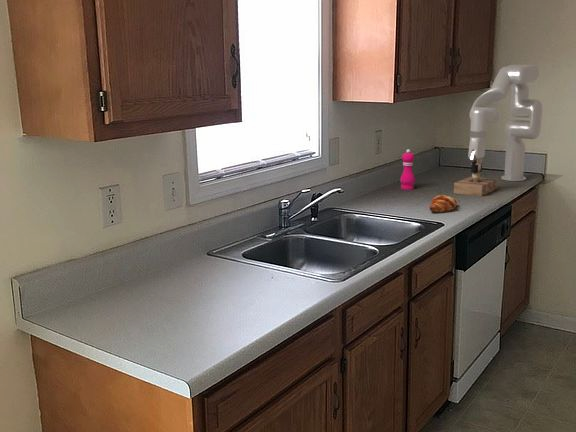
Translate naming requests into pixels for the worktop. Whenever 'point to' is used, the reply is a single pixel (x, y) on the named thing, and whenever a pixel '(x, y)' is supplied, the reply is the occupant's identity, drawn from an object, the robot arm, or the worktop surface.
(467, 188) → the board
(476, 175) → the peg
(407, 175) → the pepper mill
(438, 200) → the croissant
